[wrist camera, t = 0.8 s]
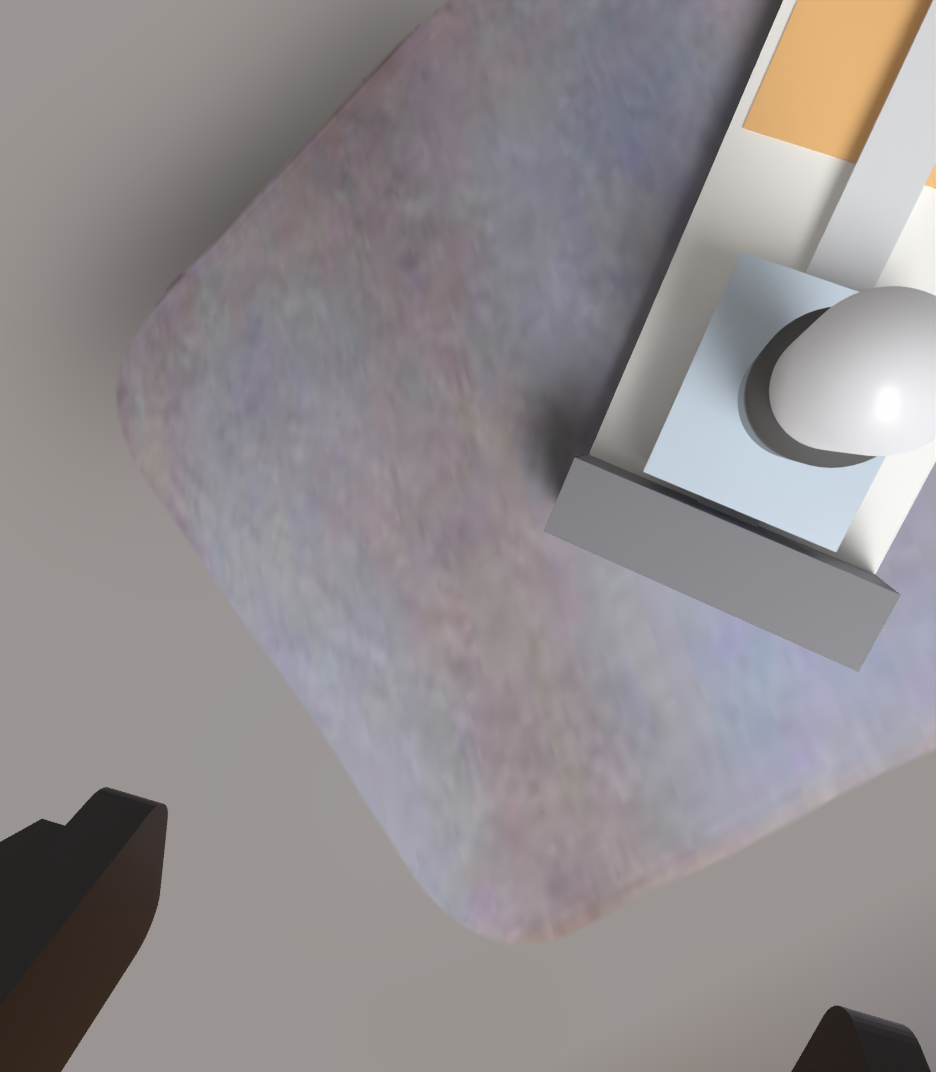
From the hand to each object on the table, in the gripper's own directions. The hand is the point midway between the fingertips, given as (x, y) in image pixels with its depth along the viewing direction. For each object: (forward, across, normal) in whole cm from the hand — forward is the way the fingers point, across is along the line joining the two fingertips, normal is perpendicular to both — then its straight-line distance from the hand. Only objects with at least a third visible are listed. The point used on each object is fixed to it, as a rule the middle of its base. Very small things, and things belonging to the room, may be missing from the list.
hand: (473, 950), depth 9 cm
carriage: (+24, -7, -4) cm, 25 cm away
